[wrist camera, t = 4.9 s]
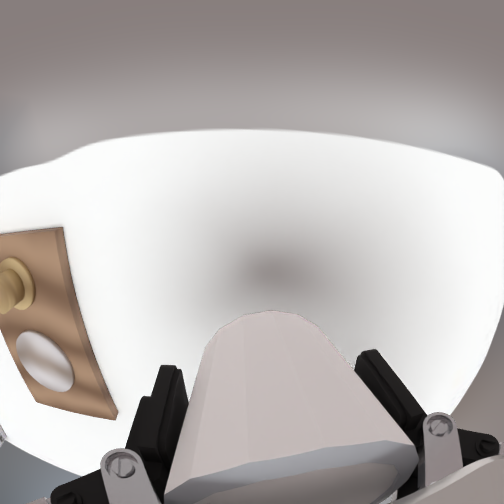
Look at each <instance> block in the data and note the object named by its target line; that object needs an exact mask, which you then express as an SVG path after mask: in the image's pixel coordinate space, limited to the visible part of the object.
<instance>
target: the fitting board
mask: <svg viewBox="0 0 504 504" xmlns="http://www.w3.org/2000/svg"><path fill="white" fill-rule="evenodd" d="M0 330H1V332H2V335H3V337H4V339H5V342H6V344H7V346H8V349H9V351H10V353H11V355H12V357H13V360H14V362H15V364H16V366H17V368H18V370H19V372H20V374H21V376H22V378H23V379H24V381H25V383H26V385H27V387H28V389H29V390H30V392H31V394H32V395H33V397H34V399H35V401H36V402H38V403H41V404H44V405H48V406H51V407H55V408H59V409H62V410H66V411H70V412H74V413H79V414H83V415H88V416H93V417H98V418H103V419H109V420H115V421H116V418H117V415H118V411H117V409H116V407H115V404H114V402H113V400H112V398H111V396H110V393H109V391H108V389H107V387H106V384H105V382H104V379H103V377H102V374H101V372H100V369H99V367H98V364H97V362H96V359H95V356H94V353H93V351H92V348H91V345H90V342H89V339H88V336H87V333H86V330H85V326H84V323H83V320H82V316H81V313H80V309H79V306H78V302H77V298H76V294H75V290H74V286H73V282H72V277H71V273H70V268H69V263H68V258H67V252H66V246H65V240H64V234H63V227H59V228H49V229H40V230H31V231H22V232H14V233H6V234H0Z"/></svg>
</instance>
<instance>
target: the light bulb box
mask: <svg viewBox="0 0 504 504" xmlns="http://www.w3.org/2000/svg"><path fill="white" fill-rule="evenodd" d="M5 438H6V435H5V433H4V431H3V430H2V428H1V426H0V447H1V445H2V443H3V442H4V440H5Z"/></svg>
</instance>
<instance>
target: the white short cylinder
mask: <svg viewBox="0 0 504 504" xmlns="http://www.w3.org/2000/svg"><path fill="white" fill-rule="evenodd" d="M418 462H419V457H418V454H417V451H416V448H415V445H414V444H413V443H412V442H411V440H410V439H409V438H408V437H407V435H406V434H405V433H404V432H403V430H402V429H401V428H400V427H399V426H398V424H397V423H396V422H395V421H394V419H393V418H392V417H391V416H390V414H389V413H388V412H387V411H386V409H385V408H384V407H383V406H382V405H381V403H380V402H379V401H378V400H377V398H376V397H375V396H374V395H373V393H372V392H371V391H370V390H369V388H368V387H367V386H366V385H365V384H364V382H363V381H362V380H361V379H360V377H359V376H358V375H357V374H356V372H355V371H354V370H353V369H352V368H351V366H350V365H349V364H348V363H347V361H346V360H345V359H344V358H343V356H342V355H341V354H340V353H339V352H338V350H337V349H336V348H335V347H334V345H333V344H332V343H331V342H330V341H329V339H328V338H327V337H326V336H325V334H324V333H323V332H322V331H321V330H320V328H319V327H318V326H316V325H315V324H313V323H311V322H310V321H308V320H306V319H305V318H303V317H302V316H300V315H298V314H293V313H286V312H279V311H273V310H269V311H264V312H259V313H254V314H248V315H243V316H241V317H239V318H238V319H236V320H234V321H233V322H231V323H229V324H227V325H226V326H224V327H222V328H220V329H219V330H218V331H217V333H216V334H215V335H214V337H213V338H212V339H211V341H210V342H209V343H208V344H207V346H206V347H205V349H204V353H203V356H202V360H201V363H200V366H199V370H198V373H197V377H196V380H195V384H194V387H193V391H192V394H191V398H190V401H189V405H188V408H187V412H186V415H185V419H184V422H183V426H182V430H181V433H180V437H179V440H178V444H177V448H176V451H175V455H174V459H173V463H172V466H171V470H170V474H169V478H168V481H167V485H166V489H165V493H164V504H379V503H380V502H382V501H384V500H385V499H386V498H388V497H389V496H390V495H391V494H393V493H394V492H395V491H396V490H397V489H398V488H399V487H401V486H402V485H403V484H404V483H405V482H406V481H407V480H408V479H409V477H410V476H411V474H412V472H413V471H414V469H415V467H416V466H417V464H418Z"/></svg>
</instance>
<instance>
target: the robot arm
mask: <svg viewBox="0 0 504 504" xmlns="http://www.w3.org/2000/svg"><path fill="white" fill-rule="evenodd" d="M354 371H355V372H356V374H357V375H358V376H359V377H360V379H361V380H362V381H363V382H364V384H365V385H366V386H367V387H368V388H369V390H370V391H371V392H372V393H373V395H374V396H375V397H376V398H377V400H378V401H379V402H380V403H381V405H382V406H383V407H384V408H385V409H386V411H387V412H388V413H389V414H390V416H391V417H392V418H393V419H394V421H395V422H396V423H397V424H398V426H399V427H400V428H401V429H402V430H403V432H404V433H405V434H406V435H407V437H408V438H409V439H410V440H411V442H412V443H413V444H414V445H415V448H416V451H417V454H418V457H419V462H418V464H417V466H416V467H415V469H414V471H413V472H412V474H411V476H410V477H409V479H408V480H407V481H406V482H405V483H404V484H403V485H402V486H401V487H399V488H398V489H397V490H396V491H395V492H394V493H393V494H392V501H391V503H388V504H504V442H501V443H500V444H499V443H498V441H497V439H496V438H495V437H493V436H492V435H489V434H483V433H477V432H472V431H467V430H462V429H457V426H456V422H455V420H454V419H453V418H452V417H451V416H450V415H448V414H445V413H442V412H436V413H432V414H430V415H428V416H427V414H426V413H425V412H424V410H423V409H422V408H421V406H420V405H419V404H418V402H417V401H416V400H415V398H414V397H413V396H412V394H411V393H410V392H409V390H408V389H407V388H406V386H405V385H404V384H403V383H402V381H401V380H400V379H399V377H398V376H397V375H396V374H395V373H394V371H393V370H392V369H391V367H390V366H389V365H388V364H387V362H386V361H385V360H384V358H383V357H382V356H381V355H380V353H379V352H378V351H377V350H376V349H373V350H367V351H363V352H362V353H361V355H359V356H358V357H357V360H356V365H355V369H354ZM188 405H189V402H188V398H187V393H186V389H185V384H184V379H183V374H182V370H181V369H177V367H176V366H175V365H161V366H160V369H159V372H158V375H157V378H156V382H155V385H154V388H153V391H152V394H151V397H149V396H143V397H142V398H141V400H140V403H139V406H138V409H137V412H136V415H135V418H134V421H133V424H132V427H131V431H130V434H129V437H128V440H127V443H126V447H125V449H124V448H120V449H114V450H111V451H109V452H108V453H106V454H105V455H104V456H103V458H102V460H101V463H100V465H101V469H99V470H97V471H94V472H92V473H90V474H87V475H85V476H83V477H80V478H78V479H75V480H73V481H71V482H68V483H66V484H63V485H60V486H58V487H57V488H55V489H54V490H53V491H52V494H51V497H50V498H48V499H46V498H45V497H43V498H40V499H38V500H35V501H32V502H30V503H27V504H164V493H165V489H166V485H167V481H168V478H169V474H170V470H171V466H172V463H173V459H174V455H175V451H176V448H177V444H178V440H179V437H180V433H181V430H182V426H183V422H184V419H185V415H186V412H187V408H188Z"/></svg>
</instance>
